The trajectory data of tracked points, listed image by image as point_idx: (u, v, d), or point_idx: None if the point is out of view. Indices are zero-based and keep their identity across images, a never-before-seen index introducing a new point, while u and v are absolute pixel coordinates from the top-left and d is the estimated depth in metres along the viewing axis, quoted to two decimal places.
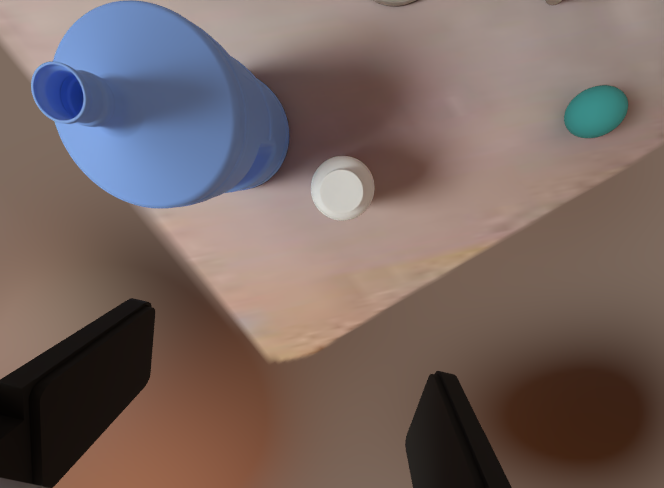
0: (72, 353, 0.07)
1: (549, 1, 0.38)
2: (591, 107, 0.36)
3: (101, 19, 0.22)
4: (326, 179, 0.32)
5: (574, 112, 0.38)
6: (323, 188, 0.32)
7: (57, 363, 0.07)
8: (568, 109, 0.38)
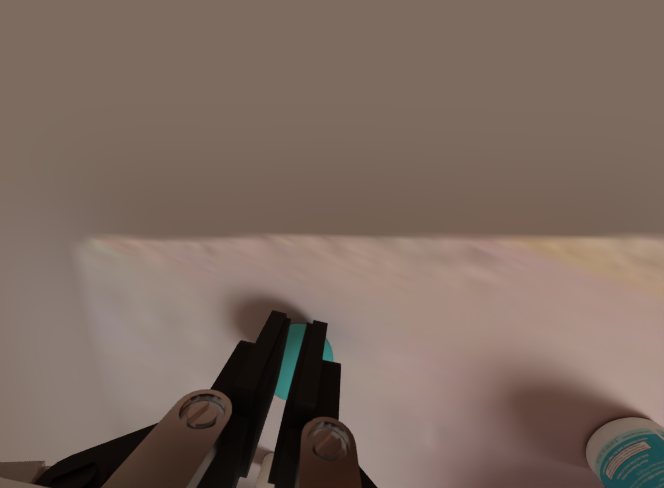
0: (266, 360, 0.08)
1: None
2: None
3: None
4: None
5: None
6: None
7: (262, 370, 0.08)
8: None
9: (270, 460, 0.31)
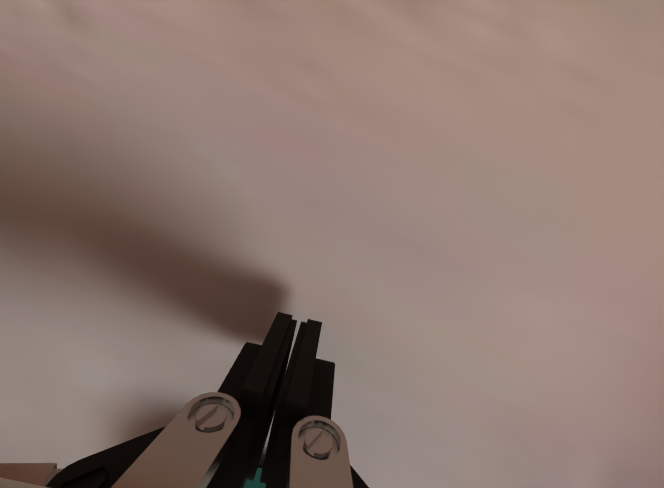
0: (273, 363, 0.08)
1: None
2: None
3: None
4: None
5: None
6: None
7: (270, 372, 0.08)
8: None
9: None
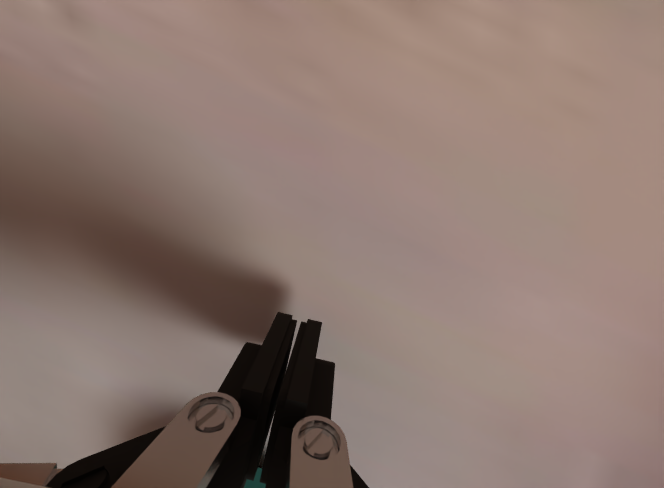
0: (273, 363, 0.08)
1: None
2: None
3: None
4: None
5: None
6: None
7: (270, 372, 0.08)
8: None
9: None
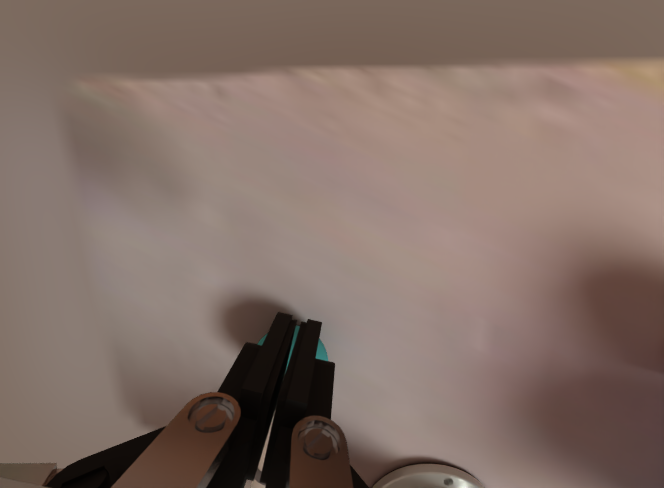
0: (273, 363, 0.08)
1: None
2: None
3: None
4: None
5: (327, 357, 0.24)
6: None
7: (270, 372, 0.08)
8: None
9: None
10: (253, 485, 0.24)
